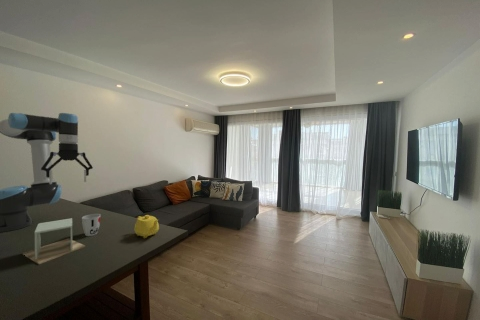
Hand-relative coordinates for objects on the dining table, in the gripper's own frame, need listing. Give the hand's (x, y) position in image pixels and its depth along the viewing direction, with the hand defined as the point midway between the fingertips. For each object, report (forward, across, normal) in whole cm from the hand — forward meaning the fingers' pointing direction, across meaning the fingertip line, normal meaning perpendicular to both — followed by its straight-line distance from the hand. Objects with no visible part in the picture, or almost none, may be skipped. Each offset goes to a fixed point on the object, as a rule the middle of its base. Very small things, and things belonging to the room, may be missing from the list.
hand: (68, 182), depth 100 cm
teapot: (+29, +33, -25) cm, 50 cm away
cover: (+28, -4, -17) cm, 33 cm away
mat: (+28, -4, -17) cm, 34 cm away
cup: (+29, +9, -6) cm, 31 cm away
